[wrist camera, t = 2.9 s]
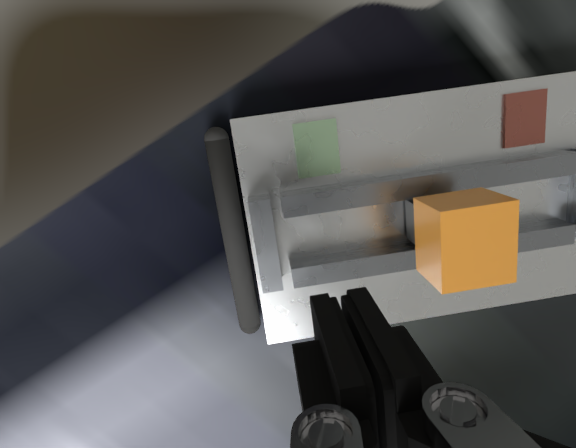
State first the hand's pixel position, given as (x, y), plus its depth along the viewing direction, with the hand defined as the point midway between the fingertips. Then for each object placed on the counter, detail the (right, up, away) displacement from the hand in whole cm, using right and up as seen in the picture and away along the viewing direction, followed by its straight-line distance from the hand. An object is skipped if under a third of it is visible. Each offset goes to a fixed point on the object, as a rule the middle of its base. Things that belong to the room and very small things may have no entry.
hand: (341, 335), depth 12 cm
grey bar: (-5, +3, +13) cm, 14 cm away
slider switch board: (+6, +4, +14) cm, 16 cm away
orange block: (+7, +4, +12) cm, 14 cm away
